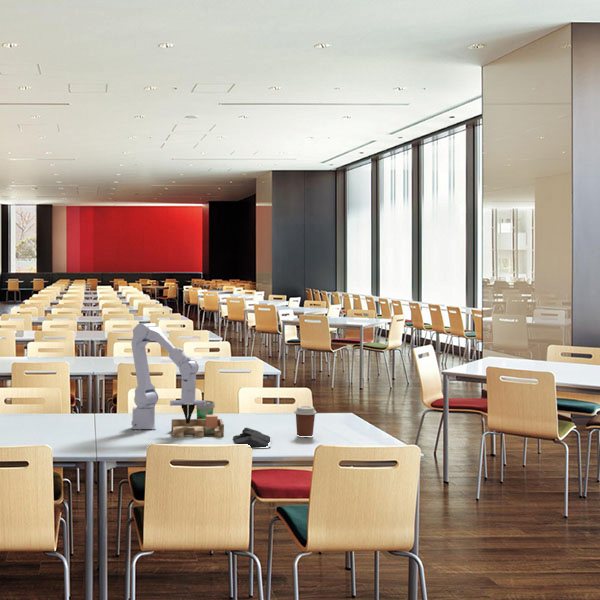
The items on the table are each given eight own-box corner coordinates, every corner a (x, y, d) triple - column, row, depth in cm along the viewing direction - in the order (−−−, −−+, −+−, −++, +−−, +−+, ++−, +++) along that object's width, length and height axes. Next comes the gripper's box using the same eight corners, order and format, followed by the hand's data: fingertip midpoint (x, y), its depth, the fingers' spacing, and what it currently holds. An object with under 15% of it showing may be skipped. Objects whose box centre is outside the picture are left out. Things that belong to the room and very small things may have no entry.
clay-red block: (206, 427, 342) (206, 416, 342) (205, 425, 347) (205, 414, 346) (217, 427, 343) (217, 416, 343) (216, 425, 347) (216, 414, 347)
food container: (209, 428, 354) (210, 404, 354) (195, 427, 356) (196, 404, 355) (218, 423, 367) (218, 400, 366) (204, 422, 368) (205, 400, 368)
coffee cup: (290, 435, 343) (290, 406, 343) (310, 433, 347) (311, 405, 347) (298, 439, 335) (299, 409, 335) (319, 438, 339) (320, 408, 338)
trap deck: (172, 437, 333) (172, 424, 333) (171, 431, 346) (171, 419, 346) (223, 436, 336) (223, 424, 336) (221, 430, 349) (221, 418, 349)
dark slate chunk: (231, 449, 314) (231, 437, 314) (233, 438, 336) (233, 426, 336) (271, 450, 315) (272, 437, 315) (271, 439, 337) (271, 427, 337)
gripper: (170, 391, 338) (169, 424, 338) (206, 391, 340) (206, 424, 340) (170, 389, 344) (169, 421, 345) (205, 389, 347) (205, 421, 347)
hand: (187, 423), depth 343 cm, fingers closed
